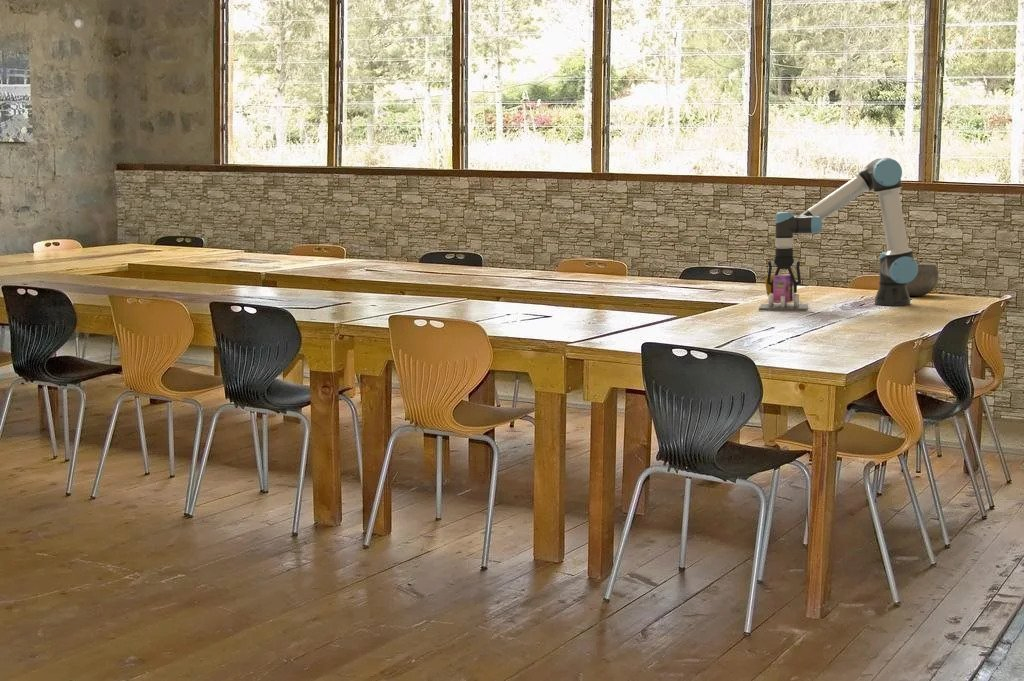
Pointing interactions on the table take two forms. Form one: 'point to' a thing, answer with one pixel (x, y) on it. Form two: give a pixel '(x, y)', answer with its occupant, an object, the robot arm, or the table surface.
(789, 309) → the pin tray
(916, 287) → the bowl
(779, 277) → the box
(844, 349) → the table surface
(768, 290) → the apple
